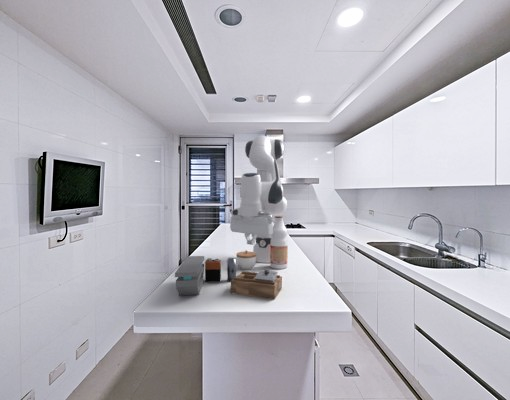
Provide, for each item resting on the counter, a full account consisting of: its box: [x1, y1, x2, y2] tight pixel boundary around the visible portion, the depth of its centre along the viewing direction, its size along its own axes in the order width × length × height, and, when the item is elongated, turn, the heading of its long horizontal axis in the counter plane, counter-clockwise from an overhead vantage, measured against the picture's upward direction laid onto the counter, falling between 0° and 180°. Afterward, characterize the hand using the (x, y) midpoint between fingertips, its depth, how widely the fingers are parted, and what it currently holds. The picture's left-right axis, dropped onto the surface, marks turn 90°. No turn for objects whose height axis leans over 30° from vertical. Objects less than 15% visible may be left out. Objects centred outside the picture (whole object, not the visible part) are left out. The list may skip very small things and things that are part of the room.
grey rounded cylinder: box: [226, 257, 237, 283], centre depth 115 cm, size 4×4×10 cm
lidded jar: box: [235, 249, 256, 270], centre depth 135 cm, size 11×11×9 cm
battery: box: [204, 257, 222, 283], centre depth 115 cm, size 4×7×10 cm, turn 93°
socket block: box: [230, 270, 283, 300], centre depth 103 cm, size 12×18×6 cm, turn 71°
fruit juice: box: [269, 215, 289, 270], centre depth 138 cm, size 9×9×28 cm
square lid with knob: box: [256, 269, 278, 282], centre depth 101 cm, size 7×7×4 cm
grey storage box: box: [174, 255, 205, 296], centre depth 104 cm, size 25×8×11 cm, turn 5°
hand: (250, 244), depth 106 cm, fingers closed
